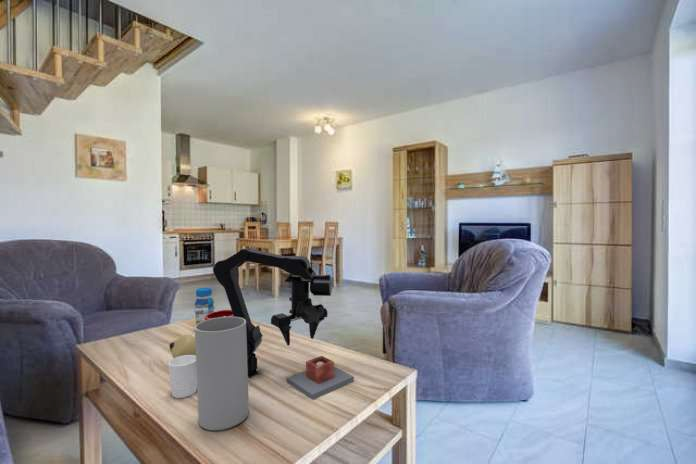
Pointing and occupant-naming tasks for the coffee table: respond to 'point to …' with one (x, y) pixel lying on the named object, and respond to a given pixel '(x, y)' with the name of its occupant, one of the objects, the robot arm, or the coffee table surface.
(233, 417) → the cylinder vase
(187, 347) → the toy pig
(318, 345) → the coffee table surface
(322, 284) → the robot arm
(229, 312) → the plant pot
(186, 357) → the white cup
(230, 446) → the coffee table surface
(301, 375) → the flat gray board
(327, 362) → the red square tube
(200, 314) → the beverage bottle
